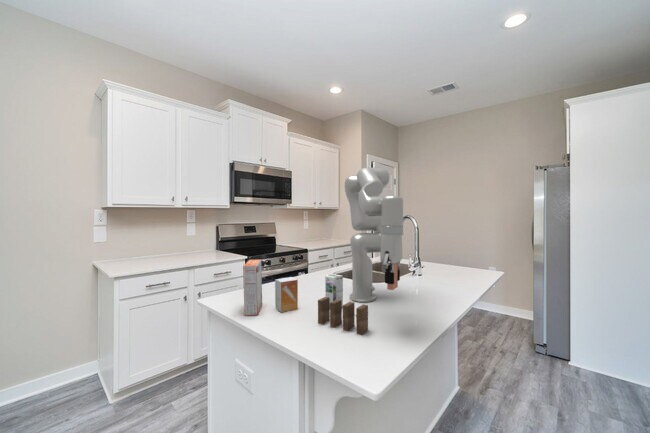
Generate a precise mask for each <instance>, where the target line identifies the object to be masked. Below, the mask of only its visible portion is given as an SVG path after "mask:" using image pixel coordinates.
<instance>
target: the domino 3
mask: <svg viewBox="0 0 650 433" xmlns="http://www.w3.org/2000/svg"><path fill="white" fill-rule="evenodd" d="M355 313H356V312H355V301H348V302H346V303H345V304H344V303H343V308H342V331H344V332H347V333H348V332H349V331H351V330H352V329H353V328H355V327H356V326H355V323H356V322H355V320H356V319H355Z"/></svg>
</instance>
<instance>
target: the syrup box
mask: <svg viewBox="0 0 650 433" xmlns="http://www.w3.org/2000/svg"><path fill="white" fill-rule="evenodd" d="M324 279H325V280H324V281H325V282H324V284H325V287H324V288H325V295H324V297H329V298H330V302H332V301H334V300H336V299H339V300H342V309H343V305H344V302H343V300H344V294H343V293H344V288H343V287H344V285H343V284H344V276H343V275H339V274H336V273H330V274H327V275H325V277H324Z"/></svg>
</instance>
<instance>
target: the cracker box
mask: <svg viewBox="0 0 650 433" xmlns="http://www.w3.org/2000/svg"><path fill="white" fill-rule="evenodd" d="M242 271H243V272H242V275H243V279H242V280H243V302H244V303H243V306H244V308H243V310H244V316H245V317H246V316H247V317H248V316H258V315H259V314H260V311H261V308H262V306H263V285H262V284H263V283H262V282H263V280H262V276H263V275H262V259H249V260H247V261H246V262H245V264H244V265H243V266H242Z"/></svg>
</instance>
